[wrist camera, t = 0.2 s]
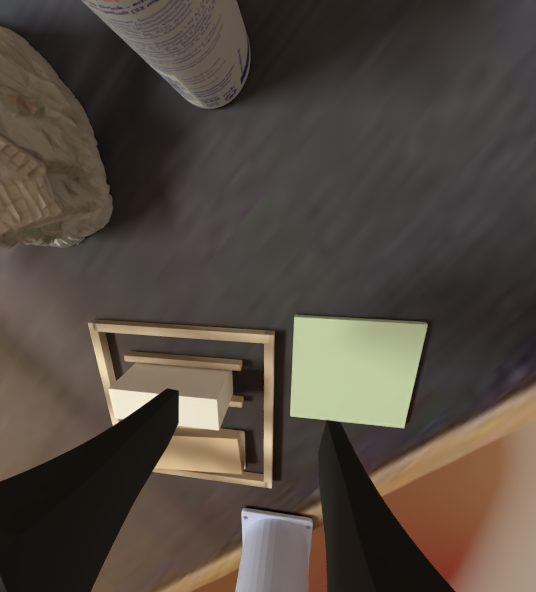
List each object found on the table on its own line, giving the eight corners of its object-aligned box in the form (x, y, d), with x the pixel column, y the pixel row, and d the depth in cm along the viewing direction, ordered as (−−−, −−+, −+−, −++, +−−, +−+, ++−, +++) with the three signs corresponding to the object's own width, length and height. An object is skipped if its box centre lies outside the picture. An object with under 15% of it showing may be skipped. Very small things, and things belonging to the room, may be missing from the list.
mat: (402, 423, 23) (404, 428, 22) (290, 412, 24) (290, 416, 23) (424, 321, 19) (427, 324, 19) (294, 314, 21) (294, 316, 20)
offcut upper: (244, 465, 27) (242, 474, 26) (156, 459, 28) (151, 468, 27) (239, 430, 25) (237, 439, 24) (147, 426, 27) (141, 434, 26)
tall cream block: (233, 392, 24) (219, 430, 20) (146, 383, 25) (114, 418, 21) (232, 365, 23) (216, 399, 19) (141, 357, 24) (107, 388, 20)
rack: (272, 480, 27) (271, 488, 26) (127, 460, 29) (123, 467, 28) (274, 330, 21) (273, 335, 21) (94, 319, 23) (87, 322, 23)
